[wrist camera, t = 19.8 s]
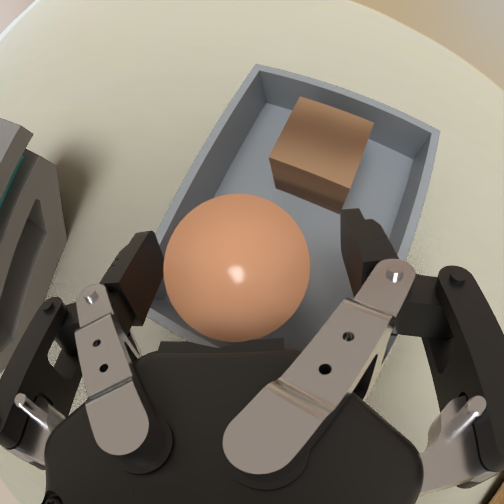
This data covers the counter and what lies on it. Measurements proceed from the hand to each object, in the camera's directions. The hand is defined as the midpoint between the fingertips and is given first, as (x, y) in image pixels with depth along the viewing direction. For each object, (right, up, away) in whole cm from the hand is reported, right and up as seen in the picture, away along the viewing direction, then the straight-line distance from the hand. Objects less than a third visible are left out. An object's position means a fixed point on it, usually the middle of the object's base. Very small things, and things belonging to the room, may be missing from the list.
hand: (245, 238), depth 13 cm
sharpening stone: (-23, -3, +13) cm, 27 cm away
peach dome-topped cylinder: (+1, -3, +8) cm, 9 cm away
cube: (+5, +5, +9) cm, 12 cm away
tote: (+3, +1, +9) cm, 10 cm away
